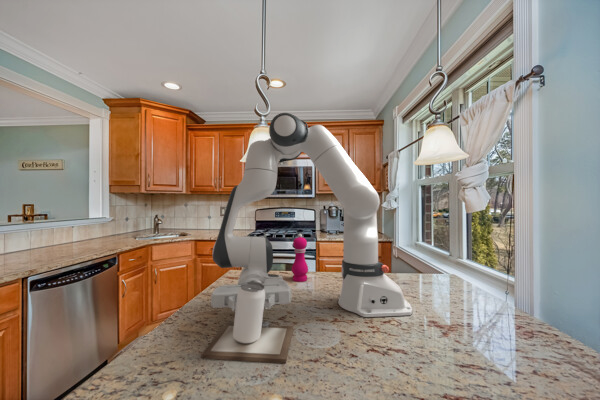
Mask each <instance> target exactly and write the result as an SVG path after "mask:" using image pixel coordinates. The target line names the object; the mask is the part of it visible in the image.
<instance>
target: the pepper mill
mask: <svg viewBox="0 0 600 400" xmlns="http://www.w3.org/2000/svg"><path fill="white" fill-rule="evenodd" d="M292 245H293V247H294V249H293V250H294V255H295V257H294V258H295V259H294V261H293V264H292V266H291V272H292V274H293V275H292V281H293V282H297V283H304V282H307V280H308V273H309V266H308V264H307V260H306V256H305V254H306V247H307V245H308V242H307V239H306V238H305V237H303V235H302V233H298V235H297V237H296V238H294V240H293V242H292Z"/></svg>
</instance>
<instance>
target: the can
mask: <svg viewBox="0 0 600 400" xmlns="http://www.w3.org/2000/svg"><path fill="white" fill-rule="evenodd" d="M264 288H265V287H264V285H263V284H261V283H258V282H245V283H242V284H241V285H240V289H239V291H238V294H237V302H236V311H234V312H235V314H234V319H233V323H234V328H233V337H234V339H235V340H236V341H237V342H239V343H243V344H250V343H253V342H255V341H257V340H258V339H259V338H260V335H261V327H262V322H263V320H264V319H263V318H264V310H265V305H264V303H265V290H264Z"/></svg>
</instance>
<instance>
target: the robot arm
mask: <svg viewBox="0 0 600 400" xmlns="http://www.w3.org/2000/svg"><path fill="white" fill-rule="evenodd" d="M268 133H269V134H268V135H269V137H270V138H268V139H266V140H257V141H256V140H255V141H254V142H252V143H251V144H250V146H249V147H248V150H247V154H246V158H245V161H244V162H245V163H244V170H243V171H244V172H243V177H242V179H241V181H240V182H239V184H237V185H236V186H233V188H232V190H231V191H230V194H229V197H228V200H227V203H226V206H225V209H224V214H223V218H222V221H221V225H220V229H219V231H218V234H217V238H216V241H215V242H214V245H213V246H212V247H213V248H212V261H213V262H214V263H215V264H216V265H217V266H218V267H219V268H221V269H229V268H231V269H232V268H242V270H241V272H240V274H239V277H238V281H237V283H236V284H222V285H219V286H217V287H216V288H214V290H213V291H212V292H211V293H210V294H211V295H210V307H211V308H213V309H221V308H222V309H223V308H230V309H231V312H235V311H236V302H237V294H238V291H239V289H240V285H241V284H242V283H245V282H258V283H261V284H263V285H264V287H265V288H264V290H265V303H264V310H271V309H272V306H274V305H288V304H291V302H292V289H291V287H290V284H289V283H288V282H287V281H286V280H284V278H283V275H279V274H273V273H270V272H271V270H272V268H273V262H274V249H273V245H272V242H271V241H270V240H269V239H268V237H266V236H264V237H263V236H246V235H245V236H242V235H241V236H239V235H234V229H235V225H236V221H237V219H238V214H239V211H240V210H241V209H242V208H243V207H244V206H246V205H249V204H251V203H255V202H258V201H261V200H265V199H266V198H268V197H270V196H271V195H272V194H273V193H274V192H275V190H276V188H277V187H276V186H277V181H278V172H279V171H278V168H279V163H284V162H290V161H294V160H296V159H298V158H299V157H300V156H301V154H302V153H304V154H305V155H306V156H308V157H309V160H310V161H311V162H312V163H313V165H314V167H315V168H316V169H317V171H318V172H319V174H320V175H321V177H322V178H323V180H324V181H325V182H326V184H327V186H328V187H329V189H330V190H331V192H332V194H333V195H334V196H335V198H336V199H337V200H338V203H339V204H340V206H341V207H342V208H343V237H342V238H343V247H342V248H343V250H342V254H343V259H342V261H341V278H342V284H341V291H340V293H339V294H340V295H339V298H338V302H337V303H338V305H339V306H340V307H341V308H342V309H344V310H346V311H348V312H350V313H355V314H357V315H359V316H360V317H364V318H376V317H380V318H381V317H394V316H395V317H399V316H411V315H412V314H413V308H412V305H411V304H410V303H409V301H407V300H406V299H405V297H404V293H403V290H402V289H401V287H400V286H399V285H398V284H397V283H396V282H395V281H394V280H393V279H391V278H390V277H389V276H387V275H386V273H389V271H390V268H389V266H388V265H386V264H384V263H382V262H381V261H379V233H378V219H377V218H378V216H377V212H378V211H379V208H380V204H381V202H380V201H381V200H380V196H379V193H378V192H377V190H376V189H375V188H374V186H373V185H372V184H371V183H370V181H369V180H368V178H366V175H364V173H362V171H361V170H360V169H359V168H358V166H357V165H356V164H355V163H354V162H353V160H352V159H351V157H350V156H349V155H348V153H347V151H346V150H345V148H343V146H342V144H340V142H339V141H338V139H337V138H336V137H335V136H334V135H333V134H332V132H331V131H329V130H328V129H327V128H326V127H325V126H323V125H322V124H313V125H312V126H310V127H309V125H308V123H307V122H306V121H304V120H301V119H300V118H298V117H297V116H296V115H295V114H292V113H289V112H281V113H278V114H277V115H275V116H274V117H273V118H272V120H271V122H270V124H269V128H268Z"/></svg>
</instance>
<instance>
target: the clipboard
mask: <svg viewBox="0 0 600 400" xmlns="http://www.w3.org/2000/svg"><path fill="white" fill-rule="evenodd" d="M233 328H234V322H231V323H230V322H226V323H225V324H224V325H223V327H222V328H221V329H220V330H219V332H218V333H217V334H216V335H215V336H214V338H213V339H212V340H211V341H210V343H209V344H208V345H207V346H206V348H205V349H204V350H203V351H202V353H201V355H200V358H201V359H209V360H225V361H227V360H228V361H241V362H242V361H246V362H261V363H278V364H286V363H287V358H288V354H289V351H290V346H291V341H292V336H293V332H294V326H293V325H277V324H274V325H273V324H270V321H262V327H261V335H260V338H259V339H258V340H257V341H255V342H253V343H250V344H243V343H239V342H237V341H236V340H235V339H234V337H233Z"/></svg>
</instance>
